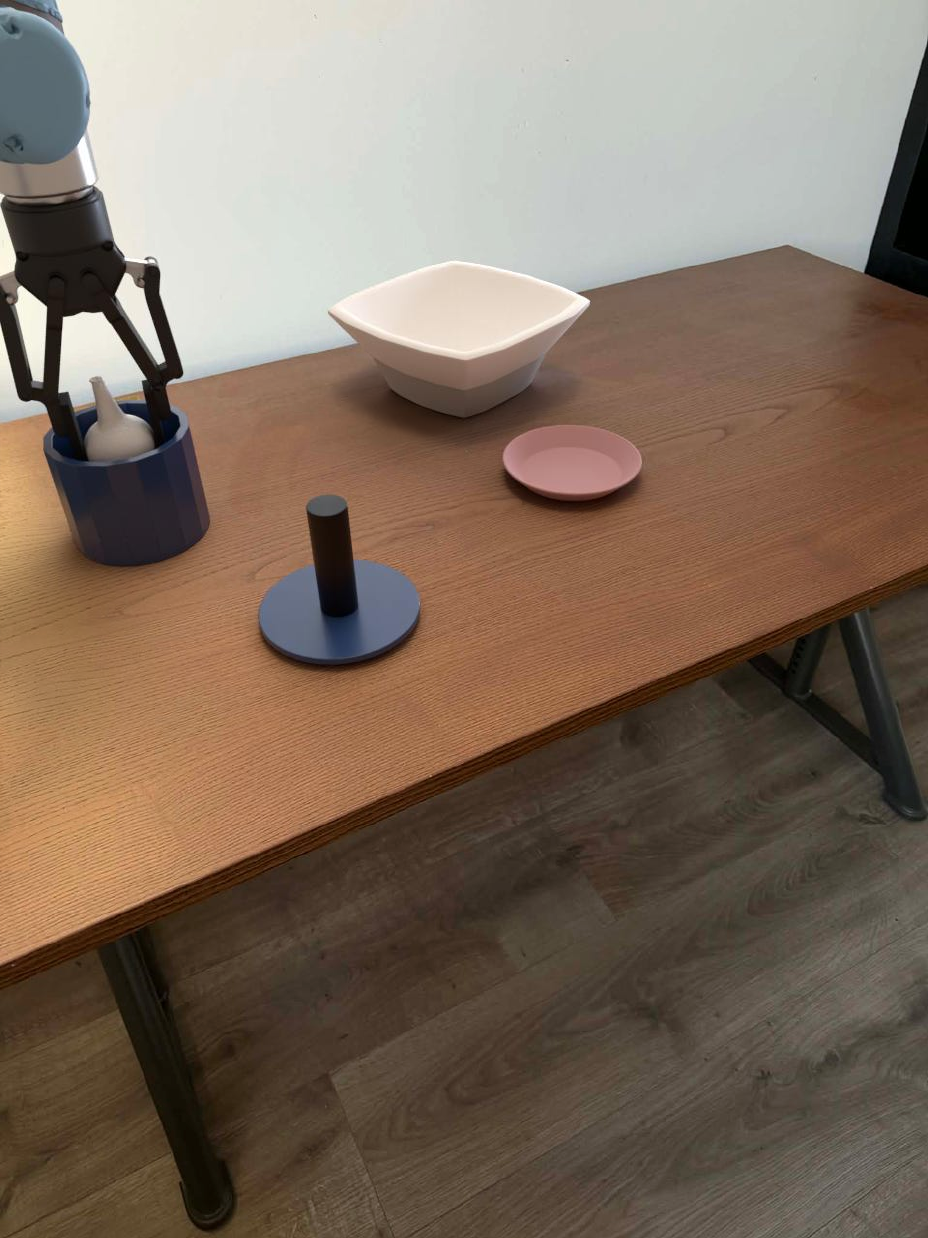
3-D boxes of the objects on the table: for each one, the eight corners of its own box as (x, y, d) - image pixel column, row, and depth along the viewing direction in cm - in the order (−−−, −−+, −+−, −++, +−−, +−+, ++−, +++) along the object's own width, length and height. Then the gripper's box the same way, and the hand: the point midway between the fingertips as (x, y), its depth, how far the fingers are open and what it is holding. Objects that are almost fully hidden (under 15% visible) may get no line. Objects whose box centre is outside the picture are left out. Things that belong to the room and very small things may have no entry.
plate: (612, 524, 90) (614, 506, 89) (479, 491, 95) (479, 474, 94) (657, 457, 100) (660, 440, 99) (534, 430, 105) (535, 414, 104)
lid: (275, 687, 73) (252, 571, 66) (248, 588, 83) (226, 478, 76) (441, 648, 76) (436, 534, 69) (396, 557, 86) (388, 449, 79)
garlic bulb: (150, 477, 84) (128, 394, 79) (80, 478, 84) (54, 395, 79) (166, 442, 88) (147, 362, 83) (100, 444, 88) (77, 364, 83)
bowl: (317, 392, 113) (307, 309, 107) (457, 330, 128) (455, 253, 121) (465, 456, 101) (464, 366, 94) (602, 379, 115) (608, 296, 108)
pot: (77, 577, 85) (42, 477, 78) (75, 507, 94) (43, 412, 87) (217, 550, 88) (195, 451, 81) (201, 485, 97) (180, 390, 90)
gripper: (174, 166, 76) (224, 422, 91) (-82, 191, 72) (14, 457, 86) (183, 189, 71) (235, 458, 85) (-94, 218, 66) (11, 497, 81)
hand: (124, 457), depth 86 cm, fingers closed on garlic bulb, 6 cm apart
